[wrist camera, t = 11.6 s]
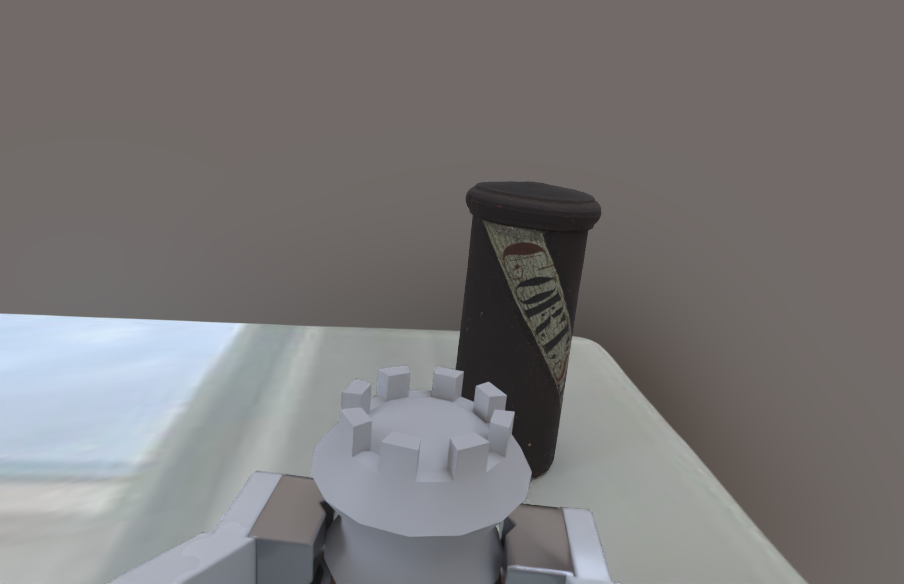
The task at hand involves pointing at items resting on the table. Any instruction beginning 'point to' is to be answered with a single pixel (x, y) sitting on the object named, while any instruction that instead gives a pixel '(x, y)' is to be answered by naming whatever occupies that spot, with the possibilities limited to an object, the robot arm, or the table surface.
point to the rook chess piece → (419, 481)
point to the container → (524, 302)
